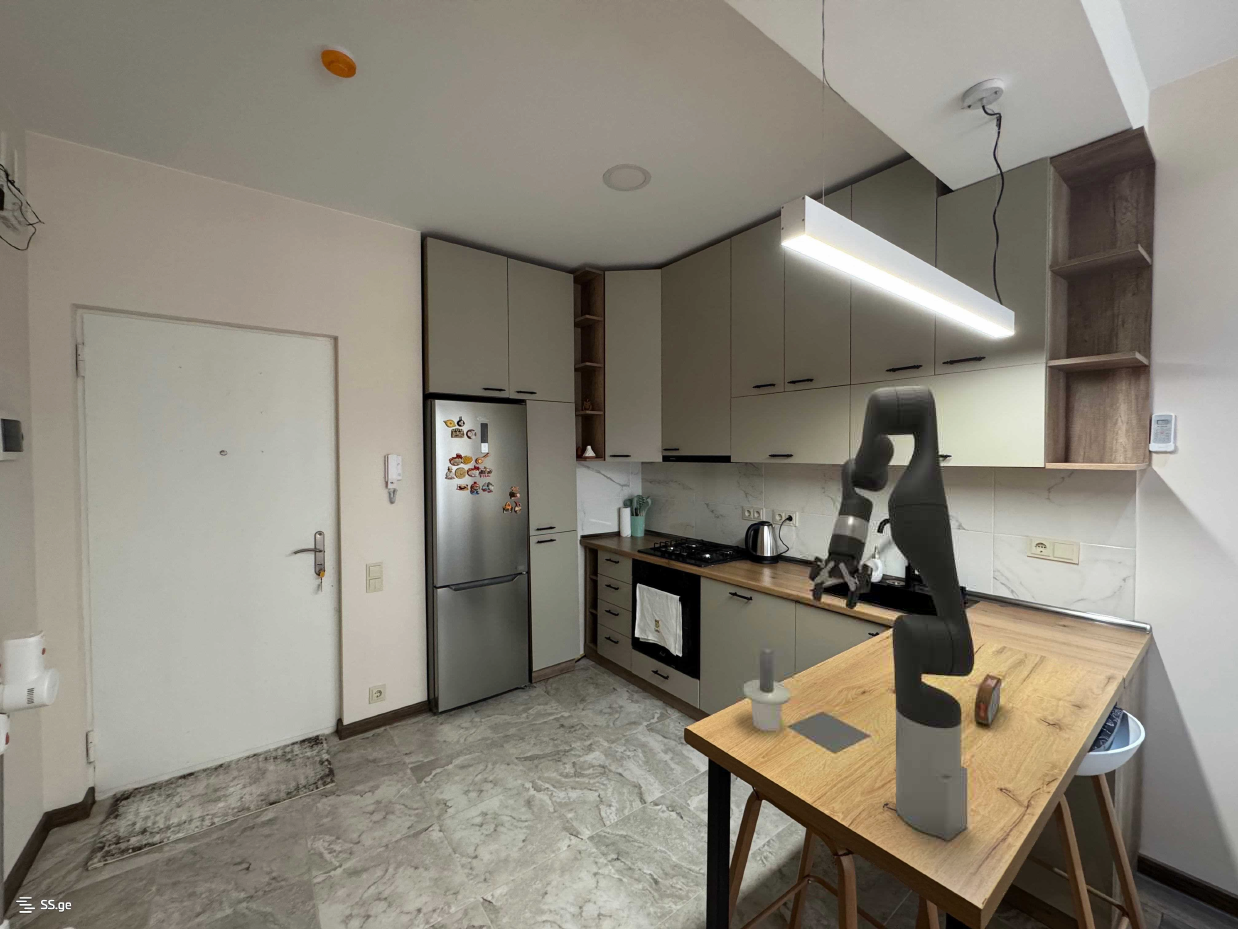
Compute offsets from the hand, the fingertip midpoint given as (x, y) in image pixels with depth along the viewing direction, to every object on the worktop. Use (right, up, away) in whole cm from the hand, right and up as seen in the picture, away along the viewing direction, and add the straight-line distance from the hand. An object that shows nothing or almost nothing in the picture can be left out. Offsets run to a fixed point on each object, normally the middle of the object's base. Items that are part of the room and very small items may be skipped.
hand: (832, 604), depth 116 cm
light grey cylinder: (-16, -26, -4) cm, 31 cm away
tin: (+35, -25, -2) cm, 43 cm away
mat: (-4, -25, -7) cm, 27 cm away
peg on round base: (-16, -19, -4) cm, 25 cm away
